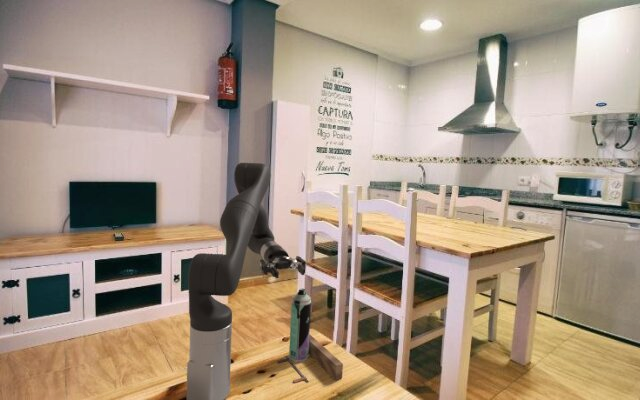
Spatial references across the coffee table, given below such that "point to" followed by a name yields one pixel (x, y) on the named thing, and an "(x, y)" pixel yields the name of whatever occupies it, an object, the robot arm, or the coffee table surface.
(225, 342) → the robot arm
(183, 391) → the coffee table surface
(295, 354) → the spray can
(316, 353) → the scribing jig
